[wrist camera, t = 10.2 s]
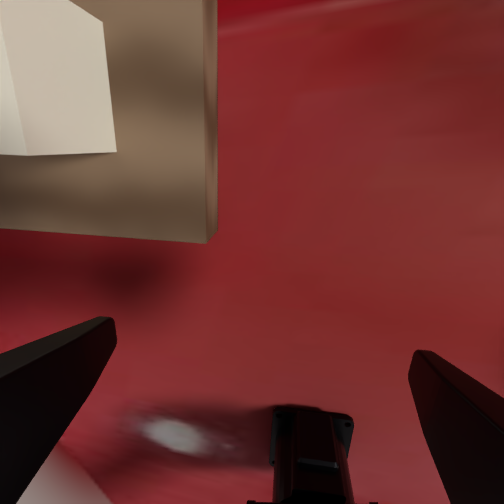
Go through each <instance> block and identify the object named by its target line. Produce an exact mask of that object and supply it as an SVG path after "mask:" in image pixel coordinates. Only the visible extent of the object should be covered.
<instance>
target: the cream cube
mask: <svg viewBox="0 0 504 504" xmlns="http://www.w3.org/2000/svg"><path fill="white" fill-rule="evenodd" d="M106 152H117V150H116V141H115V132H114V123H113V114H112V105H111V96H110V86H109V77H108V68H107V59H106V50H105V41H104V32H103V22H102V21H100V20H98V19H97V18H95V17H94V16H92V15H91V14H89V13H88V12H86V11H85V10H83V9H82V8H80V7H78V6H77V5H75V4H74V3H72V2H71V1H69V0H0V154H3V155H24V156H33V155H57V154H82V153H106Z"/></svg>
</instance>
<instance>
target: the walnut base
mask: <svg viewBox="0 0 504 504" xmlns="http://www.w3.org/2000/svg"><path fill="white" fill-rule="evenodd" d="M69 1H71V2H72V3H74V4H75V5H77V6H78V7H80V8H82V9H83V10H85V11H86V12H88V13H89V14H91V15H92V16H94V17H95V18H97V19H98V20H100V21H102V22H103V32H104V41H105V50H106V59H107V68H108V77H109V86H110V96H111V105H112V114H113V123H114V132H115V141H116V150H117V152H106V153H82V154H57V155H33V156H24V155H3V154H0V228H5V229H18V230H31V231H45V232H58V233H71V234H85V235H98V236H111V237H125V238H138V239H151V240H165V241H178V242H191V243H205V244H206V243H207V242H208V241H209V240H210V238H211V237H212V236H213V235H214V234H215V233H216V232H217V230H218V141H217V0H69Z"/></svg>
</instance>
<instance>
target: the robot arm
mask: <svg viewBox="0 0 504 504" xmlns="http://www.w3.org/2000/svg"><path fill="white" fill-rule="evenodd" d="M116 344H117V336H116V328H115V322H114V319H113V318H111V317H103V316H99V317H96V318H93V319H91V320H88V321H86V322H83V323H80V324H78V325H75V326H72V327H70V328H67V329H65V330H62V331H59V332H57V333H54V334H51V335H49V336H46V337H44V338H41V339H38V340H36V341H33V342H30V343H28V344H25V345H23V346H20V347H17V348H15V349H12V350H9V351H7V352H4V353H2V354H0V504H16V503H17V501H18V500H19V498H20V497H21V495H22V494H23V492H24V491H25V489H26V488H27V486H28V485H29V484H30V482H31V480H32V479H33V478H34V476H35V474H36V473H37V472H38V470H39V469H40V467H41V466H42V464H43V463H44V461H45V460H46V458H47V457H48V455H49V454H50V452H51V451H52V449H53V448H54V446H55V445H56V443H57V442H58V441H59V439H60V438H61V436H62V435H63V433H64V432H65V430H66V429H67V427H68V426H69V424H70V423H71V421H72V420H73V418H74V417H75V415H76V414H77V412H78V411H79V409H80V408H81V406H82V405H83V403H84V402H85V401H86V399H87V397H88V396H89V394H90V393H91V391H92V389H93V388H94V386H95V384H96V383H97V381H98V379H99V377H100V375H101V373H102V371H103V370H104V368H105V366H106V364H107V362H108V360H109V359H110V357H111V355H112V353H113V351H114V349H115V347H116ZM408 380H409V384H410V388H411V392H412V395H413V399H414V402H415V406H416V409H417V413H418V417H419V420H420V424H421V427H422V430H423V434H424V437H425V439H426V442H427V445H428V447H429V450H430V452H431V455H432V457H433V460H434V462H435V465H436V467H437V470H438V473H439V475H440V478H441V480H442V483H443V485H444V488H445V490H446V493H447V495H448V498H449V500H450V503H451V504H504V398H503V397H501V396H500V395H498V394H496V393H495V392H493V391H492V390H490V389H489V388H487V387H486V386H484V385H483V384H481V383H480V382H478V381H477V380H475V379H474V378H472V377H471V376H469V375H468V374H466V373H464V372H463V371H461V370H460V369H458V368H457V367H455V366H454V365H452V364H451V363H449V362H448V361H446V360H445V359H443V358H442V357H440V356H439V355H437V354H436V353H434V352H432V351H427V350H416V351H415V352H414V354H413V357H412V361H411V365H410V369H409V373H408ZM278 413H280V414H278ZM346 422H349V423H346ZM353 428H354V422H353V419H352V417H350V416H345V415H337V414H330V413H322V412H314V411H306V410H299V409H291V408H283V407H276V408H275V409H274V410H273V420H272V432H271V445H270V457H269V463H270V465H272V466H274V480H273V499H272V502H256V501H255V500H248V501H247V504H355V502H354V497H353V491H352V485H351V480H350V474H349V468H348V463H347V458H348V453H349V448H350V443H351V438H352V433H353ZM369 504H378V502H369Z"/></svg>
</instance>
